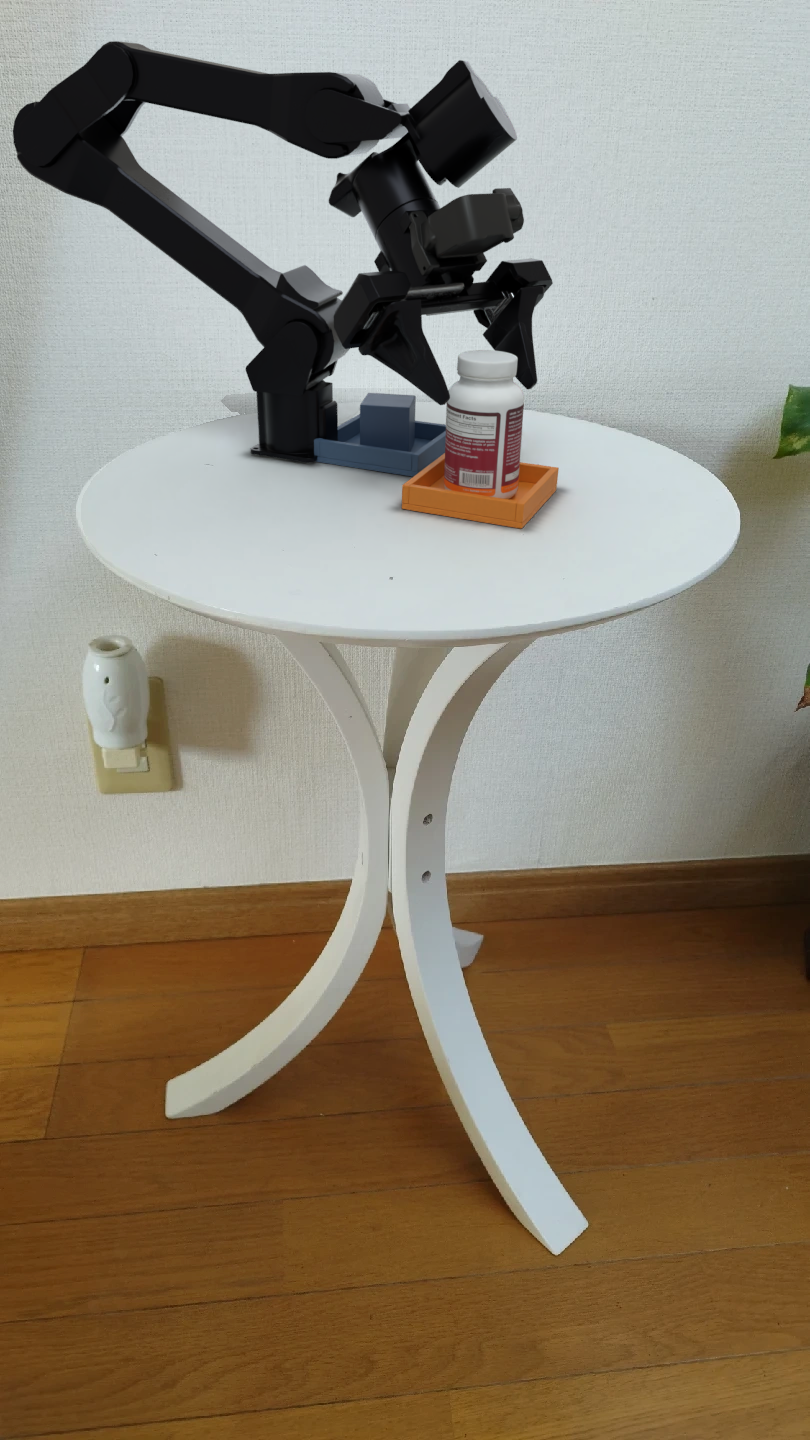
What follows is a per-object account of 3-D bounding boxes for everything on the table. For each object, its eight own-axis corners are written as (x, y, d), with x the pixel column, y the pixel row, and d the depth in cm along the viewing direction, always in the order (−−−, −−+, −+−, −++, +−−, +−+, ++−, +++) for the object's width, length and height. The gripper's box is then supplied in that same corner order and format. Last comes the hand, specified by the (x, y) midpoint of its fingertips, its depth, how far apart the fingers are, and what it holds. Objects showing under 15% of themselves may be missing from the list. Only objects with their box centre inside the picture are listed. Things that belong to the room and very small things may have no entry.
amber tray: (401, 509, 82) (402, 484, 81) (445, 473, 91) (446, 451, 89) (521, 528, 79) (524, 504, 78) (556, 490, 87) (558, 467, 86)
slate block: (359, 454, 93) (359, 404, 91) (367, 440, 97) (367, 392, 94) (408, 457, 93) (409, 407, 90) (414, 443, 96) (415, 395, 94)
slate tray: (314, 461, 93) (313, 439, 92) (360, 433, 101) (360, 413, 100) (417, 477, 89) (418, 455, 88) (457, 447, 97) (458, 426, 96)
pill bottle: (493, 477, 88) (502, 345, 82) (531, 499, 84) (544, 360, 78) (429, 486, 86) (434, 350, 80) (465, 509, 81) (473, 367, 75)
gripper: (354, 147, 70) (450, 344, 68) (548, 146, 80) (635, 318, 78) (295, 258, 79) (378, 433, 78) (475, 244, 89) (552, 399, 88)
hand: (490, 393), depth 80 cm, fingers open, 9 cm apart
